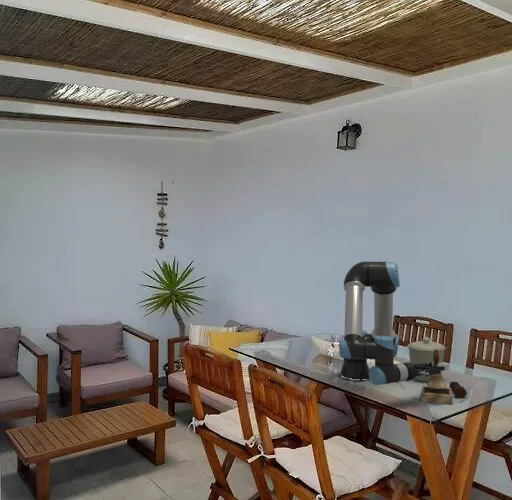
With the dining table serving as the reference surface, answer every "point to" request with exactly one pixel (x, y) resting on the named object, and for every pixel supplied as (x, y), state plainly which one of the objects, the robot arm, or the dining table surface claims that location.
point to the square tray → (436, 395)
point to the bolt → (458, 390)
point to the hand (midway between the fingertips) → (446, 366)
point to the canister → (425, 354)
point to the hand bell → (436, 375)
